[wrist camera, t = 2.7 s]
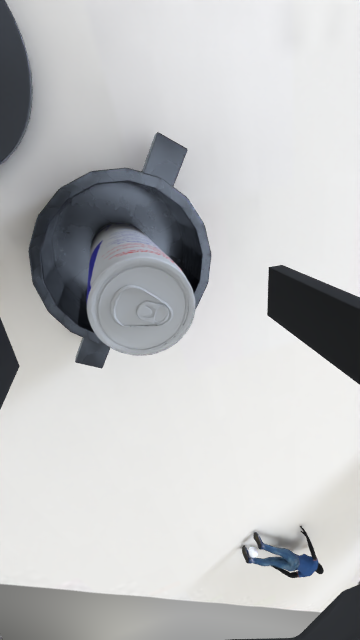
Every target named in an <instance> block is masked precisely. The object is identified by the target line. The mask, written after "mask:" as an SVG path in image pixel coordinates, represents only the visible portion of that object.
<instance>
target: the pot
mask: <svg viewBox="0 0 360 640" xmlns="http://www.w3.org/2000/svg"><path fill="white" fill-rule="evenodd" d="M186 153H187V148H185V147H183V146H181V145H180V144H178V143H176V142H174V141H173V140H171V139H169V138H167V137H166V136H164V135H162V134H160V133H159V132H157V133H156V134H155V136H154V139H153V141H152V144H151V147H150V150H149V153H148V155H147V158H146V161H145V164H144V167H143V170H142V172H140V171H137V170H133V169H130V168H119V169H109V170H99V171H92V172H89V173H87V174H85V175H83V176H82V177H80V178H78V179H76V180H74V181H72V182H70V183H69V184H67V185H65V186H63V187H61V188H60V189H59V190H58V191H57V192H56V193H55V195H54V196H53V197H52V199H51V200H50V201H49V202H48V204H47V205H46V206H45V207H44V209H43V210H42V211H41V212H40V214H39V215H38V217H37V220H36V223H35V227H34V231H33V235H32V238H31V242H30V246H29V258H30V266H31V274H32V282H33V285H34V286H35V288H36V290H37V292H38V294H39V296H40V297H41V299H42V301H43V303H44V305H45V307H46V309H47V310H48V312H49V313H50V314H51V315H52V316H54V317H55V318H56V319H57V320H58V321H59V322H60V323H61V324H62V325H64V326H65V327H66V328H67V329H68V330H69V331H70V332H72V333H74V334H77V335H79V336H81V337H83V338H82V341H81V344H80V346H79V349H78V352H77V355H76V360H75V362H76V363H80V364H85V365H89V366H94V367H98V368H103V365H104V363H105V360H106V357H107V355H108V352H109V350H110V347H109V346H107V345H106V344H105V343H103V342H102V341H101V340H100V339H99V338H98V336H97V335H96V334H95V333H94V331H93V329H92V327H91V325H90V322H89V319H88V315H87V303H86V298H87V286H88V274H89V262H90V248H91V243H92V240H93V238H94V237H95V235H96V234H97V232H98V231H99V230H101V229H102V228H103V227H105V226H107V225H109V224H112V223H118V222H122V223H128V224H131V225H133V226H135V227H137V228H138V229H140V230H141V231H142V232H143V233H144V234H145V235H146V236H147V237H148V238H149V239H150V240H151V241H152V242H154V243H155V244H156V245H157V246H158V247H159V248H160V249H161V250H162V251H163V252H164V253H165V254H166V255H167V256H168V257H169V258H170V259H171V260H172V261H173V262H174V263H175V264H176V265H177V266H178V267H179V268H180V269H181V270H182V272H183V273H184V275H185V276H186V278H187V280H188V281H189V283H190V285H191V287H192V289H193V293H194V296H195V309H196V307H197V306H198V303H199V301H200V299H201V297H202V295H203V293H204V291H205V288H206V286H207V284H208V279H209V271H210V262H211V251H210V246H209V242H208V237H207V233H206V229H205V225H204V223H203V221H202V220H201V218H200V217H199V215H198V213H197V212H196V210H195V209H194V207H193V206H192V204H191V202H190V201H189V199H188V198H187V197H186V196H185V195H183V194H182V193H181V192H179V191H178V190H177V189H175V188H174V187H173V186H174V183H175V181H176V178H177V176H178V173H179V170H180V168H181V165H182V163H183V160H184V158H185V155H186Z"/></svg>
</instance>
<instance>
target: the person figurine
mask: <svg viewBox="0 0 360 640" xmlns="http://www.w3.org/2000/svg"><path fill="white" fill-rule="evenodd" d="M300 527H301V526H300ZM301 528H302V527H301ZM302 530H303V532H302V531H301V532H302V533H303V534H304V535H305V536H306V538H307V542H308V546H309V549H310V552H311V555H312V557H311V556H307V555H306V554H303V555H300V556H299V555H296V554H294V553H293V552H291V551H290V550H288V549H285V548H277V547H272V546H270V545H266V544H264V543H263V542H262V540H261V538H260V536H259V535H258V534H257V533H254V540H255V541H256V542H257V545H258V548H259V549H264V550H266V551H269V552H271V553H273V554H277V555H280V556H281V557H268V558H265V559H261V558H256V556H257V554H258V552H257V549H256V548H255V547H250V548H249V551H248V550H247V548H246V547H245V546H243V547H242V553H243V556H244V558H245V560H246V562H247V563H254V564H258V565H261V566H270V565H271V566H272V567H274V568H275V569H278V570H279V571H280V572H282V573H283V574H285V575H287V576H288V577H291V578H297V577H306V576H311V575H312V574H313V573H314V572H315V571H316V572H317V573H318V574H322V573H323V571H324V570H323V568H322V566H321V565H320V564H319V563H318V560H317V557H316V555H315V552H314V548H313V546H312V544H311V541H310V539H309V537H308V535H307V533H306V532H305V530H304V529H303V528H302ZM282 557H283V558H282ZM284 569H286V570H288V571H295V570H299V571H296V572H292V573H290V572H288V571H286V570H284Z"/></svg>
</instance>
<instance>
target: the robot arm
mask: <svg viewBox="0 0 360 640" xmlns="http://www.w3.org/2000/svg"><path fill="white" fill-rule="evenodd" d="M267 315H268V316H269V317H271V318H272V319H273V320H275V321H276V322H277V323H279V324H280V325H281V326H283V327H284V328H285V329H287V330H288V331H289V332H291V333H292V334H293V335H294V336H296V337H297V338H298V339H300V340H301V341H302V342H304V343H305V344H306V345H308V346H309V347H310V348H312V349H313V350H314V351H316V352H317V353H318V354H320V355H321V356H322V357H324V358H325V359H326V360H328V361H329V362H330V363H332V364H333V365H334V366H336V367H337V368H338V369H340V370H341V371H342V372H344V373H345V374H346V375H348V376H349V377H350V378H352V379H353V380H354V381H356V382H357V383H358V384H360V297H357V296H355V295H352V294H350V293H348V292H345V291H343V290H341V289H338V288H336V287H333V286H331V285H329V284H326V283H324V282H321V281H319V280H317V279H314V278H312V277H310V276H307V275H305V274H302V273H300V272H298V271H295V270H293V269H290V268H288V267H286V266H283V265H279V266H274V267H269V280H268V313H267ZM18 368H19V364H18V361H17V359H16V356H15V354H14V351H13V349H12V346H11V344H10V341H9V339H8V336H7V334H6V331H5V328H4V326H3V323H2V321H1V318H0V409H1V407H2V404H3V402H4V400H5V398H6V395H7V393H8V391H9V389H10V386H11V384H12V382H13V380H14V377H15V375H16V373H17V371H18ZM0 640H3V639H2V637H1V635H0ZM232 640H234V639H232ZM235 640H360V584H359V585H357V586H355V587H352V588H350V589H347V590H345V591H343V592H342V593H341V594H340V595H339V596H338V597H337V598H336V599H335V600H334V601H333V602H332V603H331V604H330V605H329V606H328V607H327V608H326V609H325V610H324V611H323V612H322V613H321V614H320V615H319V616H318V617H317V618H316V619H315V620H314V621H313V622H312V623H311V624H310V625H309V626H308V627H307V628H306V629H305V630H304V631H303V632H302V633H301V634H300V635H298V636H296V637H294V638H280V639H279V638H278V639H235Z"/></svg>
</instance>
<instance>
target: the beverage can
mask: <svg viewBox="0 0 360 640" xmlns="http://www.w3.org/2000/svg"><path fill="white" fill-rule="evenodd" d="M86 303H87V315H88V319H89V322H90V325H91V327H92V329H93V331H94V333H95V334H96V335H97V336H98V338H99V339H100V340H101V341H102V342H103V343H105V344H106V345H107V346H109V347H111V348H112V349H114V350H116V351H119V352H121V353H125V354H130V355H151V354H155V353H158V352H161V351H164V350H166V349H168V348H170V347H171V346H173V345H174V344H176V343H177V342H178V341H179V340H180V339H181V338H182V337H183V336H184V335H185V334H186V332H187V331H188V329H189V328H190V326H191V323H192V321H193V318H194V313H195V296H194V293H193V289H192V287H191V285H190V283H189V281H188V280H187V278H186V276H185V275H184V273H183V272H182V270H181V269H180V268H179V267H178V266H177V265H176V264H175V263H174V262H173V261H172V260H171V259H170V258H169V257H168V256H167V255H166V254H165V253H164V252H163V251H162V250H161V249H160V248H159V247H158V246H157V245H156V244H155V243H154V242H152V241H151V240H150V239H149V238H148V237H147V236H146V235H145V234H144V233H143V232H142V231H141V230H140V229H138V228H137V227H135V226H133V225H131V224H128V223H122V222H118V223H112V224H109V225H107V226H105V227H103V228H102V229H101V230H99V231H98V232H97V234H96V235H95V237H94V238H93V240H92V243H91V248H90V262H89V274H88V286H87V298H86Z"/></svg>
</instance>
